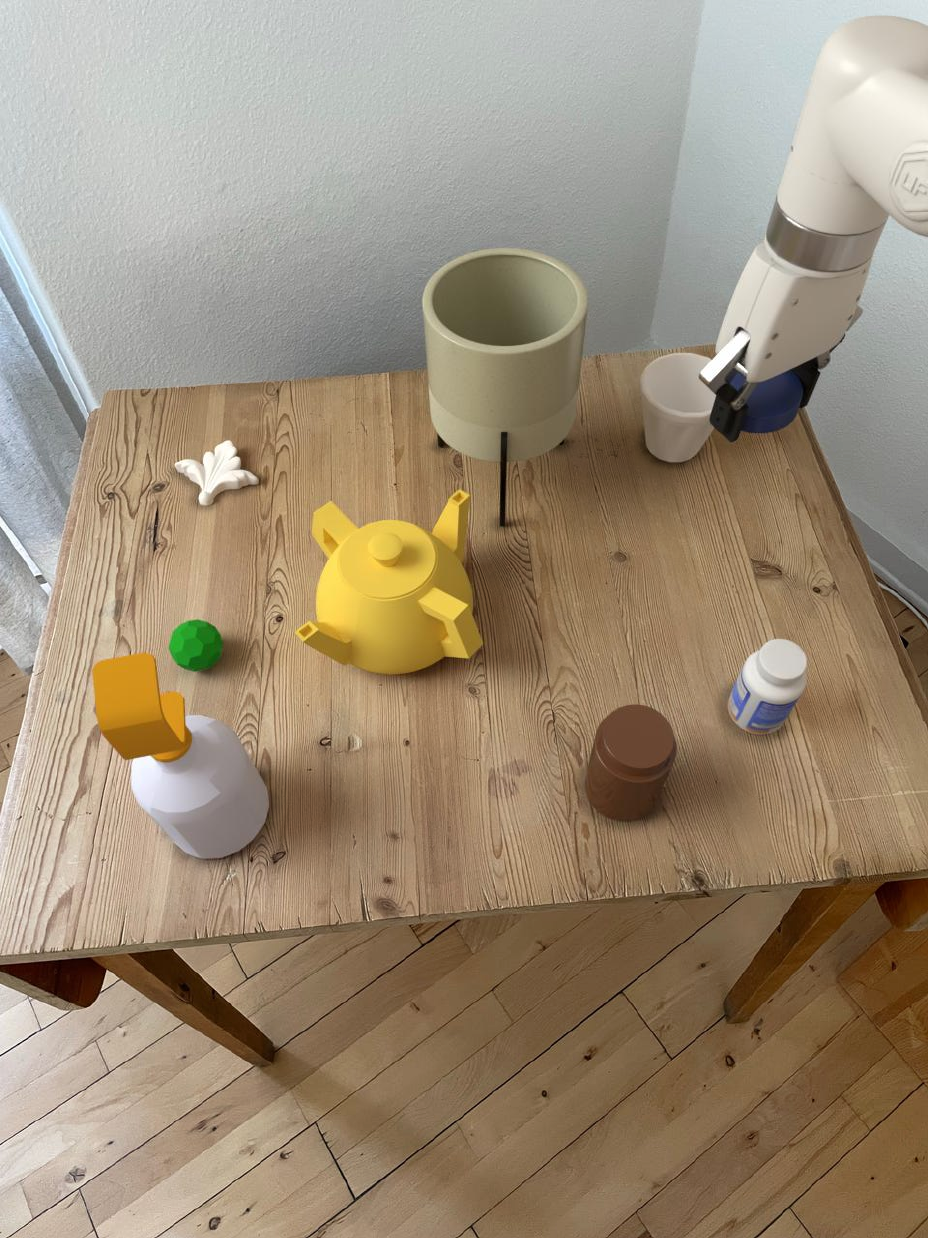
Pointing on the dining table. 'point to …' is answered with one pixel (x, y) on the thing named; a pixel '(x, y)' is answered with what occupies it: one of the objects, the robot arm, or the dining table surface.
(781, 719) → the pill bottle
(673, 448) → the cup
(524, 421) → the planter
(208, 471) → the acanthus leaf ornament
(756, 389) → the jar lid
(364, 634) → the teapot
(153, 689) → the soap bottle
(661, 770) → the jam jar
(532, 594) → the dining table surface
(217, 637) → the polyhedron
